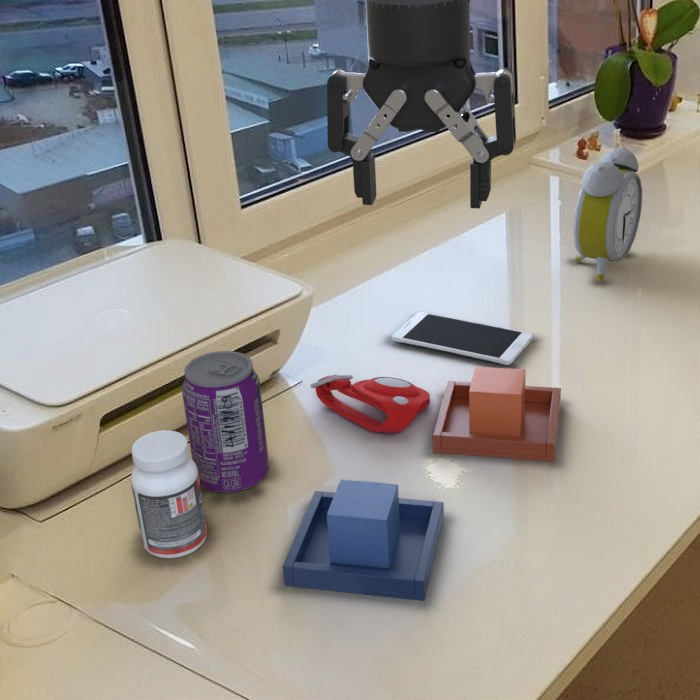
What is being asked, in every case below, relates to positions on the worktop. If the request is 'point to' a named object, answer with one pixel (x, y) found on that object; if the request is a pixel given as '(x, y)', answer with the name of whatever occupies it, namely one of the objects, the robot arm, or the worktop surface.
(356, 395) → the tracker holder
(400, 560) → the blue tray
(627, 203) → the alarm clock
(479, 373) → the terracotta block
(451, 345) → the smartphone
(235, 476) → the beverage can
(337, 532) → the blue block
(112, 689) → the worktop surface
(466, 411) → the terracotta tray
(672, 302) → the worktop surface
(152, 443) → the pill bottle
